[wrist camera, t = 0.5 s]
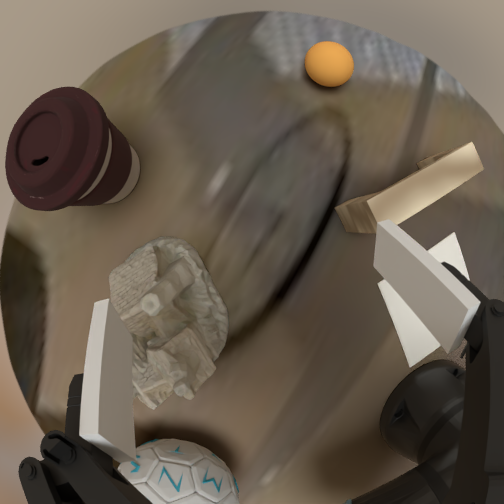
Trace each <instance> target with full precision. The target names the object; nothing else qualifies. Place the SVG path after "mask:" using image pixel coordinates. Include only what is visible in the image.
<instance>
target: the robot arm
mask: <svg viewBox="0 0 504 504" xmlns="http://www.w3.org/2000/svg"><path fill="white" fill-rule="evenodd" d="M373 267H374V268H375V269H376V270H377V271H378V272H379V273H380V274H381V275H382V276H383V278H384V279H385V280H386V281H387V282H388V283H389V284H390V285H391V287H392V288H393V289H394V290H395V291H396V292H397V293H398V295H399V296H400V297H401V298H402V299H403V300H404V301H405V303H406V304H407V305H408V306H409V307H410V308H411V310H412V311H413V312H414V313H415V314H416V316H417V317H418V318H419V319H420V320H421V322H422V323H423V324H424V325H425V326H426V328H427V329H428V330H429V331H430V332H431V334H432V335H433V336H434V337H435V339H436V340H437V341H438V342H439V344H440V345H441V346H442V347H443V349H444V350H445V351H446V353H447V354H449V353H450V352H452V351H453V350H455V349H457V348H458V347H460V345H461V343H462V341H463V339H464V338H465V339H466V340H467V344H466V346H465V348H464V350H463V352H462V353H461V357H460V358H463V356H464V354H465V353H466V358H465V359H466V370H465V369H463V368H462V367H461V366H459V365H457V364H456V363H454V362H452V361H449V360H438V361H433V362H430V363H428V364H426V365H423V366H422V367H420V368H418V369H417V370H415V371H414V372H412V373H411V374H410V375H409V376H407V377H406V378H405V379H404V380H403V381H402V382H401V383H400V384H399V385H398V386H397V388H396V389H395V390H394V391H393V393H392V394H391V396H390V397H389V399H388V401H387V402H386V404H385V407H384V409H383V412H382V415H381V420H380V430H381V434H382V436H383V438H384V439H385V441H386V442H387V444H388V445H389V446H390V448H392V449H393V450H394V451H395V452H397V453H399V454H401V455H403V456H405V457H406V458H408V459H410V460H412V461H414V462H416V463H418V466H417V467H415V468H413V469H411V470H410V471H408V472H406V473H404V474H403V475H401V476H399V477H397V478H395V479H394V480H392V481H390V482H388V483H386V484H384V485H382V486H380V487H378V488H376V489H374V490H372V491H370V492H368V493H366V494H364V495H361V496H359V497H357V498H355V499H352V500H351V499H349V500H347V501H346V502H345V503H344V504H504V302H502V301H500V300H497V299H492V300H489V299H488V298H487V297H486V296H485V295H484V294H483V293H482V292H481V291H480V290H479V289H478V288H477V287H476V286H474V285H473V284H472V283H471V282H470V281H469V280H467V278H466V277H465V276H464V275H462V273H461V272H460V271H459V270H457V269H456V268H455V267H454V266H452V265H450V264H448V263H446V262H442V263H440V262H439V261H437V260H436V259H435V258H434V257H433V256H432V255H431V254H430V253H429V252H427V251H426V250H425V249H424V248H423V247H422V246H421V245H419V244H418V243H417V242H416V241H415V240H414V239H412V238H411V237H410V236H409V235H408V234H407V233H405V232H404V231H403V230H402V229H401V228H399V227H398V226H397V225H396V224H395V223H393V222H392V221H391V220H390V219H388V220H384V221H381V222H377V232H376V244H375V255H374V265H373ZM132 344H133V338H132V336H131V334H130V333H129V331H128V330H127V328H126V326H125V325H124V323H123V321H122V320H121V318H120V316H119V315H118V313H117V311H116V310H115V308H114V306H113V304H112V303H111V301H110V299H105V300H101V301H98V302H95V304H94V309H93V315H92V320H91V326H90V332H89V339H88V345H87V352H86V360H85V368H84V373H83V374H77V375H74V377H73V379H72V381H71V383H70V386H69V393H68V397H69V399H68V403H67V406H68V408H67V413H66V425H65V434H64V433H63V432H61V431H58V430H54V431H50V432H49V433H47V434H46V435H45V436H44V438H43V439H42V442H41V447H40V448H41V454H42V457H43V458H44V460H42V461H39V460H37V459H35V458H33V457H27V458H25V459H24V460H23V461H22V462H21V464H20V466H19V477H20V481H21V484H22V487H23V490H24V493H25V496H26V499H27V501H28V504H153V503H152V502H151V501H150V500H148V499H147V498H146V497H145V496H144V495H143V494H142V493H141V492H140V491H139V490H138V489H137V488H135V487H134V486H133V485H132V484H131V483H130V482H129V481H128V480H127V479H126V478H125V477H124V476H123V475H122V474H121V473H120V472H119V471H118V470H117V469H116V468H115V467H114V466H113V462H112V458H113V459H115V460H116V461H118V462H130V461H137V458H136V447H135V433H134V416H133V386H132Z"/></svg>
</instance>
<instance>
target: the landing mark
mask: <svg viewBox="0 0 504 504" xmlns="http://www.w3.org/2000/svg"><path fill="white" fill-rule="evenodd" d="M427 252H429V253H430V254H431V255H432V256H433V257H434V258H435V259H436V260H437V261H439V262H440V263H442V262H446V263H448V264H450V265H452V266H454V267H455V268H456V269H457V270H459V271H460V272H461V273H462V275H464V276H465V277H466V278H467V280H469V276H468V272H467V269H466V266H465V262H464V259H463V256H462V253H461V250H460V247H459V244H458V241H457V238H456V235H455V232H453V233H451V234H450V235H449V236H447V237H446V238H444V239H443V240H442V241H440V242H439V243H437V244H436V245H435V246H433V247H432V248H430V249H429V250H427ZM469 281H470V280H469ZM377 285H378V287H379V289H380V292H381V294H382V296H383V299H384V301H385V304H386V306H387V309H388V311H389V314H390V316H391V319H392V321H393V324H394V326H395V329H396V332H397V334H398V337H399V340H400V342H401V345H402V348H403V351H404V353H405V356H406V359H407V362H408V365H409V367H412V366H413V365H415V364H416V363H418V362H419V361H420V360H422V359H423V358H425V357H426V356H427V355H429V354H430V353H431V352H433V351H434V350H435V349H437V348H438V347H439V346H441V345H440V344H439V342H438V341H437V340H436V339H435V337H434V336H433V335H432V334H431V332H430V331H429V330H428V329H427V328H426V326H425V325H424V324H423V323H422V322H421V320H420V319H419V318H418V317H417V316H416V314H415V313H414V312H413V311H412V310H411V308H410V307H409V306H408V305H407V304H406V303H405V301H404V300H403V299H402V298H401V297H400V296H399V295H398V293H397V292H396V291H395V290H394V289H393V288H392V287H391V285H390V284H389V283H388V282H387V281H386V280H385V279H383V280H382V281H380V282H379V283H377Z"/></svg>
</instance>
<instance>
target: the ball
mask: <svg viewBox="0 0 504 504" xmlns="http://www.w3.org/2000/svg"><path fill="white" fill-rule="evenodd" d="M305 68H306V71H307V73H308V75H309V76H310V77H311V78H312V79H313V80H314V81H315V82H317V83H318V84H320V85H323V86H327V87H335V86H339V85H342V84H344V83H345V82H346V81H348V80H349V78H350V77H351V75H352V73H353V70H354V62H353V59H352V56H351V54H350V53H349V51H348V50H347V49H346V48H345V47H343V46H342V45H340V44H338V43H335V42H330V41H325V42H320V43H317V44H315V45H314V46H312V47H311V48H310V49H309V51H308V52H307V54H306V57H305Z"/></svg>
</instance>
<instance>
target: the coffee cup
mask: <svg viewBox="0 0 504 504" xmlns="http://www.w3.org/2000/svg"><path fill="white" fill-rule="evenodd" d="M5 168H6V176H7V180H8V184H9V186H10V189H11V191H12V193H13V195H14V196H15V197H16V198H17V200H18V201H19V202H20V203H21V204H23V205H24V206H26V207H28V208H30V209H33V210H41V211H54V210H59V209H62V208H65V207H67V206H94V205H100V204H109V203H115V202H118V201H120V200H122V199H123V198H125V197H126V196H127V195H128V194H129V193H130V192H131V191H132V190H133V188H134V187H135V185H136V183H137V181H138V178H139V173H140V163H139V158H138V156H137V153H136V152H135V150H134V149H133V148H132V147H131V146H130V145H129V143H128V141H127V139H126V138H125V137H124V135H123V134H122V133H121V132H120V131H119V130H118V129H117V128H116V127H115V126H114V125H113V124H112V123H111V122H110V121H109V119H108V118H107V117H106V114H105V112H104V110H103V108H102V106H101V105H100V104H99V102H98V101H97V100H96V99H95V98H93V97H92V96H91V95H90V94H89V93H87V92H86V91H84V90H82V89H79V88H75V87H61V88H57V89H53V90H51V91H49V92H47V93H45V94H43V95H42V96H40V97H39V98H37V99H36V100H35V101H34V102H33V103H32V104H31V105H30V106H29V107H28V108H27V109H26V110H25V111H24V112H23V114H22V115H21V116H20V118H19V119H18V120H17V122H16V124H15V125H14V127H13V130H12V132H11V134H10V137H9V141H8V145H7V152H6V162H5Z"/></svg>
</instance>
